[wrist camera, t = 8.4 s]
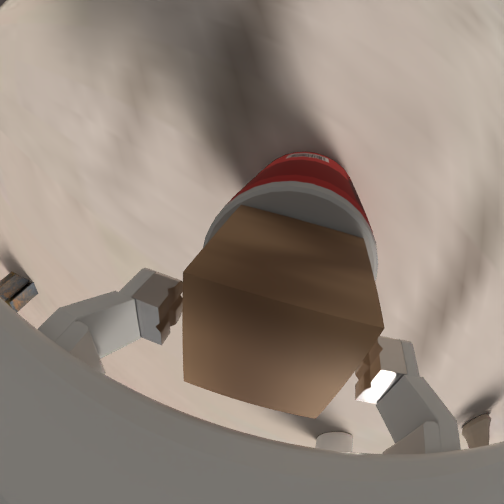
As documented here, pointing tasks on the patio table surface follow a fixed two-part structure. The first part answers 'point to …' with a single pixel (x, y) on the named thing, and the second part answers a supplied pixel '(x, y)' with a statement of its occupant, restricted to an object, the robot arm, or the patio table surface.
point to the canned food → (305, 197)
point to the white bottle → (335, 441)
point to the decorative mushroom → (477, 431)
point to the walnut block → (278, 312)
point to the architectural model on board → (16, 291)
